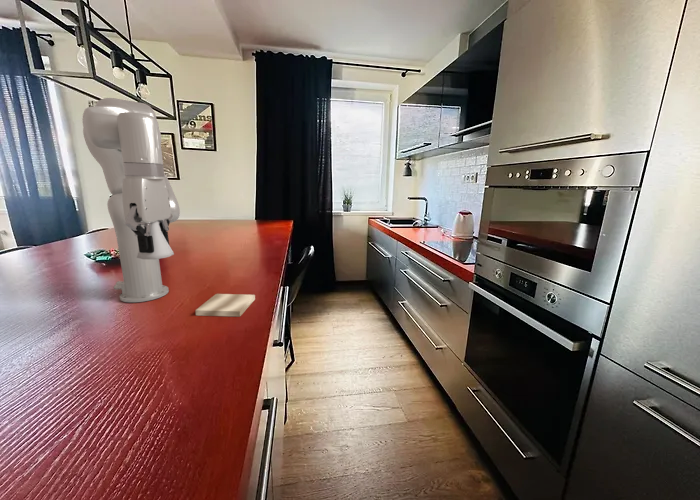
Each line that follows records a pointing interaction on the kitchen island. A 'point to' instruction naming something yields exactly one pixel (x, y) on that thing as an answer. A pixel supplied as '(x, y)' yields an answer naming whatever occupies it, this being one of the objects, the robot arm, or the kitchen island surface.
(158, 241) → the flask
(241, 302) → the birch board
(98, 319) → the kitchen island surface
